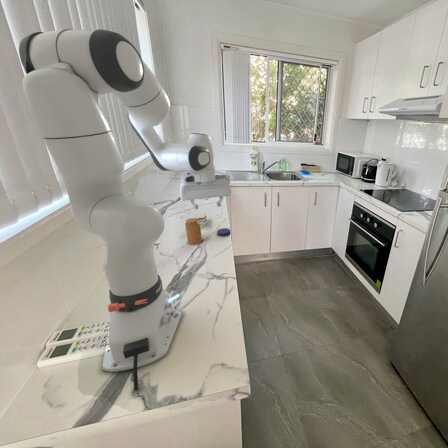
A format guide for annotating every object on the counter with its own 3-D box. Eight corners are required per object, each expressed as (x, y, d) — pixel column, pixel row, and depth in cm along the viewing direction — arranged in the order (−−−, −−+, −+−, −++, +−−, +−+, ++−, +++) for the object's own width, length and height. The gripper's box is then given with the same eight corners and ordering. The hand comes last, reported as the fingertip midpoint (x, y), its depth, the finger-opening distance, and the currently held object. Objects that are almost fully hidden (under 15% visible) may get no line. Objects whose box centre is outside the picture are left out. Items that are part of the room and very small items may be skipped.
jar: (202, 243, 118) (199, 221, 113) (187, 245, 116) (184, 223, 111) (202, 238, 123) (199, 217, 119) (188, 239, 121) (185, 218, 117)
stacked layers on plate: (210, 227, 136) (209, 218, 134) (193, 229, 133) (192, 219, 131) (209, 220, 144) (208, 212, 142) (193, 222, 141) (192, 213, 139)
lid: (219, 231, 132) (219, 228, 131) (231, 231, 132) (231, 228, 131) (216, 236, 126) (215, 233, 125) (228, 236, 126) (228, 233, 125)
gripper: (227, 172, 107) (230, 202, 112) (176, 175, 97) (181, 208, 102) (231, 175, 102) (233, 206, 107) (178, 178, 92) (183, 213, 97)
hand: (207, 207), depth 105 cm, fingers open, 8 cm apart
